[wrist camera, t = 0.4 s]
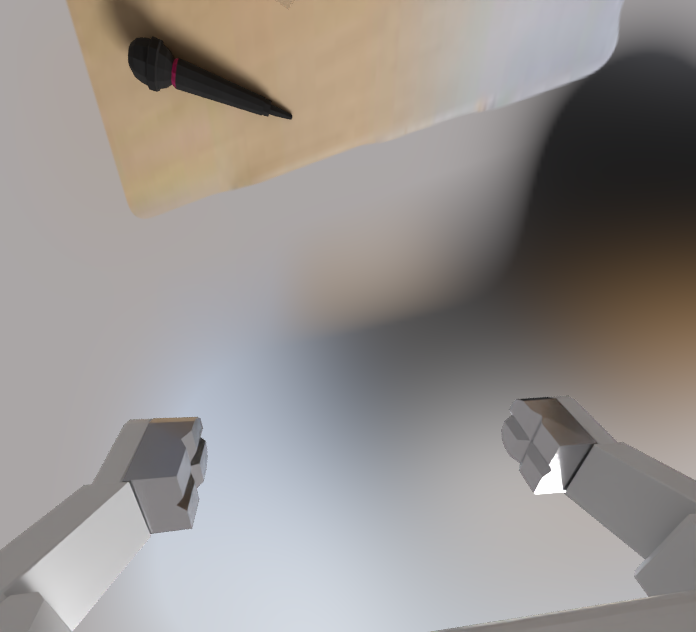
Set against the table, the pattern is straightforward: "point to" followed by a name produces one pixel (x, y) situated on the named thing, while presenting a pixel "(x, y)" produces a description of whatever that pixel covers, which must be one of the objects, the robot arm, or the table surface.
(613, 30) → the table surface
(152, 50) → the microphone
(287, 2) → the carton
